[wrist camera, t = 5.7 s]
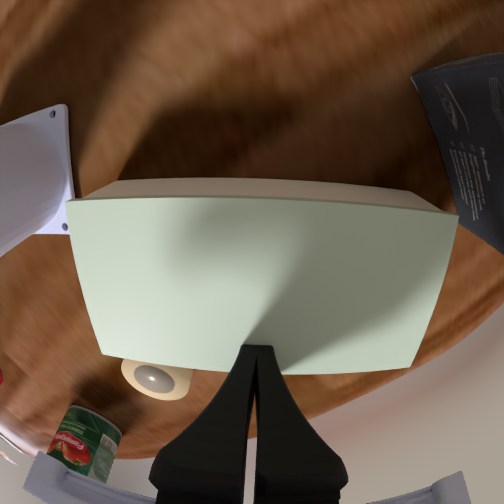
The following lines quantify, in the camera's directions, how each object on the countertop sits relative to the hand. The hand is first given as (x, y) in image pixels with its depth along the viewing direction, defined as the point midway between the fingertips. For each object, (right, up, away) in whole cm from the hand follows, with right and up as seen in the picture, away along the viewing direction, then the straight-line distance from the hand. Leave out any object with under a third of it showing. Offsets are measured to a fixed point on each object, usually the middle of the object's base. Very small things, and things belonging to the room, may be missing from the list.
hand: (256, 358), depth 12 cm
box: (+12, +12, 0) cm, 17 cm away
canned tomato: (-20, -17, +15) cm, 30 cm away
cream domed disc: (-7, -3, +7) cm, 10 cm away
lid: (0, +3, -1) cm, 3 cm away
